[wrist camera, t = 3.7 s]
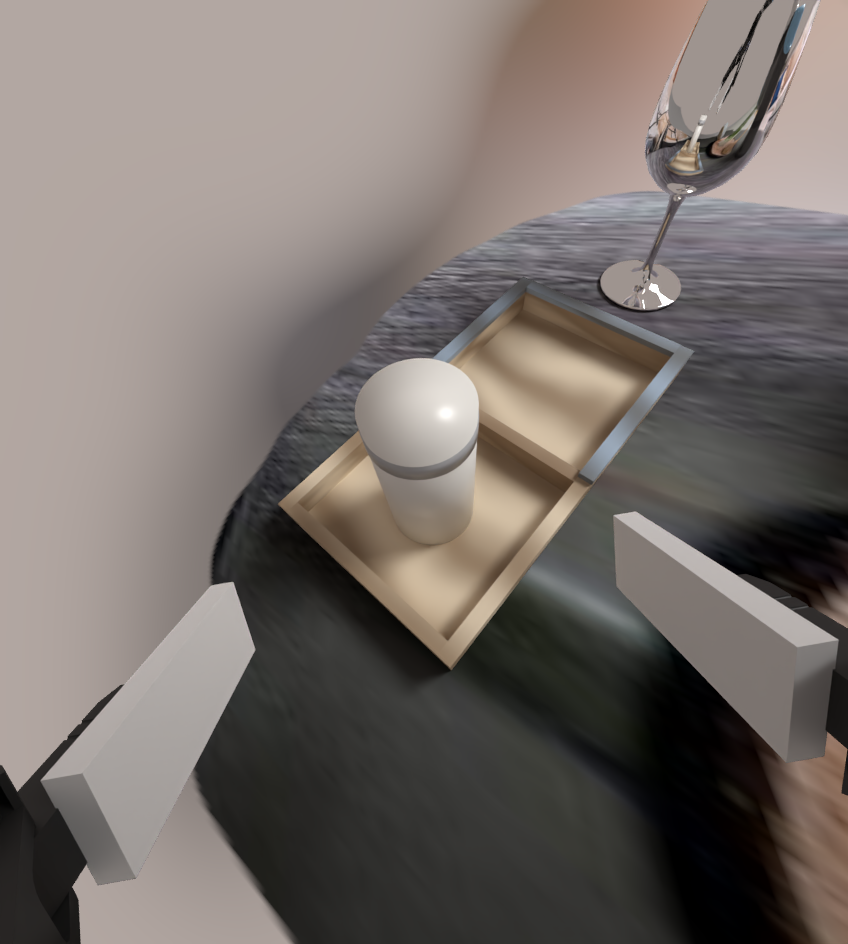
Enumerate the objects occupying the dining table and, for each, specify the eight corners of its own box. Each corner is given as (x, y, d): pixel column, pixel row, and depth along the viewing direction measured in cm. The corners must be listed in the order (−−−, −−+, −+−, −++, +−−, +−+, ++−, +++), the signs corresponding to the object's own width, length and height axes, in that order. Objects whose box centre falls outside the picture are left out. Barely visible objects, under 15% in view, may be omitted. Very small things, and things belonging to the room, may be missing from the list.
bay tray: (519, 303, 40) (523, 276, 38) (676, 377, 34) (694, 350, 32) (290, 516, 31) (274, 500, 28) (451, 671, 25) (450, 668, 22)
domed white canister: (428, 456, 32) (412, 340, 22) (491, 501, 30) (505, 394, 19) (375, 511, 30) (328, 412, 20) (437, 563, 28) (421, 482, 17)
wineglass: (596, 308, 39) (703, -1, 22) (599, 259, 43) (693, -40, 25) (684, 316, 38) (872, -9, 20) (679, 264, 41) (836, -50, 24)
